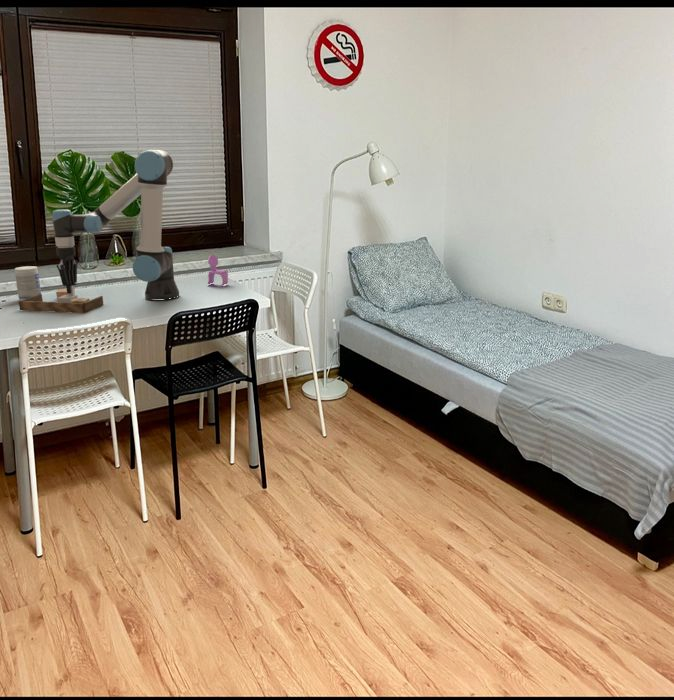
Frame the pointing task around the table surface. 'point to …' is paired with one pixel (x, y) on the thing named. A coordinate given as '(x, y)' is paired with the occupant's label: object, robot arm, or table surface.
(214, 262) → the toy chair
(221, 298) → the table surface
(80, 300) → the oak tile
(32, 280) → the supplement tub
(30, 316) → the table surface
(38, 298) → the frame
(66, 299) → the grey tile
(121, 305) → the table surface
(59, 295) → the terracotta tile
